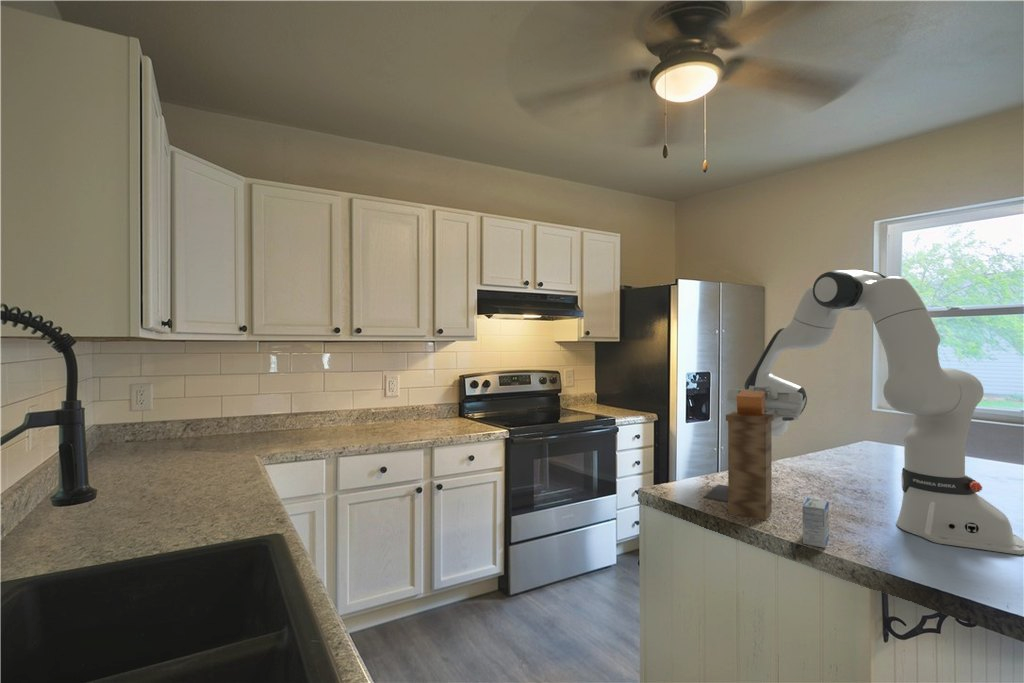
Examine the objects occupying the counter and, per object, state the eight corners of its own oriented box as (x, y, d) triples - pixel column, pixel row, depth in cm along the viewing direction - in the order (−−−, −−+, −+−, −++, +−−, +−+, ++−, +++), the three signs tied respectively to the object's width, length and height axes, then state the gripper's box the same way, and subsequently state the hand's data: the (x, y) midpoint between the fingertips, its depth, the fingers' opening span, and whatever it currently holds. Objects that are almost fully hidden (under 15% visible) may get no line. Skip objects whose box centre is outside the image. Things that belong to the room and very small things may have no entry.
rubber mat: (749, 490, 150) (749, 489, 150) (736, 503, 137) (736, 502, 137) (718, 485, 156) (718, 484, 156) (703, 497, 143) (703, 496, 143)
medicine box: (825, 549, 107) (825, 509, 107) (802, 544, 110) (802, 505, 110) (829, 538, 113) (829, 500, 113) (806, 533, 116) (806, 496, 116)
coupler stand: (774, 511, 131) (773, 414, 131) (767, 521, 124) (767, 418, 124) (733, 504, 137) (733, 411, 137) (725, 513, 130) (725, 415, 130)
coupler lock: (773, 397, 142) (772, 381, 141) (762, 415, 129) (761, 397, 128) (750, 396, 146) (749, 380, 145) (737, 413, 132) (736, 395, 131)
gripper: (732, 396, 159) (723, 377, 149) (805, 401, 147) (800, 380, 137) (730, 414, 156) (720, 395, 147) (804, 420, 144) (799, 400, 135)
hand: (760, 388), depth 142 cm, fingers closed on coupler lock, 3 cm apart
